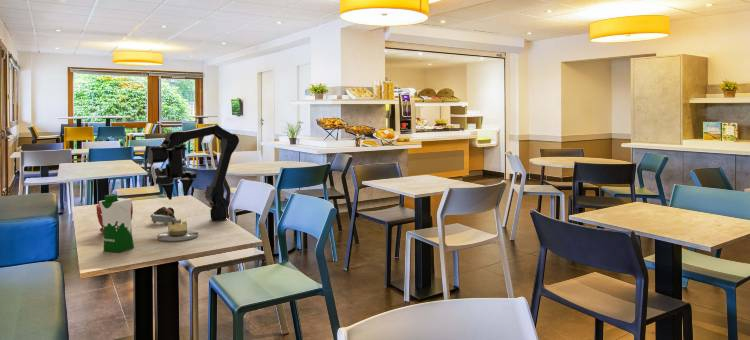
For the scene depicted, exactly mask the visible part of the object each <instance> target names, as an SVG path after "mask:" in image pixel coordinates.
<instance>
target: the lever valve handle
mask: <svg viewBox="0 0 750 340" xmlns="http://www.w3.org/2000/svg"><path fill="white" fill-rule="evenodd" d="M151 215H152V214H151ZM176 219H177V218H176V217H175V218H172V216H165V215H156V214H155V215H154V214H153V215H152V218H151V222H153V221H155V222H156V223H164V225H165V226H167V232H168V235H173V236H176V235H184V234H187V230H188V222H187V220H186V219H185V220H182V221H181V223H180V222H178V223H175V224H174V222H173V220H176Z"/></svg>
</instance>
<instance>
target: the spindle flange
mask: <svg viewBox="0 0 750 340" xmlns="http://www.w3.org/2000/svg"><path fill="white" fill-rule="evenodd" d="M173 222H174V224H175V223H178V222H180V223H181V222H182V219H180V218H176V220H173ZM198 237H199V232H198V231H196V230H191V229H187V234H184V235H176V236H173V235H168V231H165V232H161V233H158V235H157V237H156V238H157V241H159V242H164V243H178V242H186V241H191V240H194V239H197V238H198Z"/></svg>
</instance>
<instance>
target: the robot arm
mask: <svg viewBox="0 0 750 340" xmlns="http://www.w3.org/2000/svg"><path fill="white" fill-rule="evenodd" d="M212 135H213V136H214V137H215V138H216V139H218V141H220V145H219V146H220V147H219V148H220V155H219V158H218V162H217V166H216V168H215V172H214V177H213V181H212V183H210V185H209V184H207V185H206V188H205V189H206V190H205V192H204V195H205V196H204V198H205V200H206V201H207V202H208V203H209V205H210V206H211V208H210V210H209V211H210V219H211V221H212V222H214V221H215V222H216V221H218V220H219V221H227V220H228V215H227V207H228V206H229V204H230V201H229V200H228V199H226V198H225V187H224V184H225V180H226V176H227V173H228V169H229V166H230V165H229V164H230V162H231V158H232V155H233V153H234V152H235V151H236V150H237V147H238V146H239V142H240V138H239V136H238V135H237V134H235V133H232V132H230V131H228V130H226V129H225V128H222V127H221V126H220V125H218V124H211V125H208V126H204V127H198V128H194V129H189V130H174V131H173V130H171V131H170V130H169V131H167V132H166V133H165V136H164V139H163V141H162V142H161V144H160V146H149V148H148V149H149V150H148V154H147V159H148V162H149V164H159V163H166V161H168V162H167V163H166V164H165V167H163V168H162V167H157V168H156V167H155V169H154V173H155V176H156V178H155V184H157V185H158V186H160V187H162V188H163V190H164V192H165V194H166V197H167V199H168V200H172V198H173V194H174V183H173V182H174V181H177V180H179V181H180V183H182V184H181V185H182V192H183V196H184V197H186V196H187V195H188V193H189V191H190V188H191V186H192V184H193V183H194V181H195V179H197V173H196V172H195V171H188V170H186V171H184V167H185V166H186V163H185V162H184V161H183V160H184V159H183V151H186V150H188V148H187V147H186V146H184V144H185V143H187V142H189V141H191V140H194V139H199V138H204V137H208V136H212ZM226 218H227V219H226ZM225 219H226V220H225Z"/></svg>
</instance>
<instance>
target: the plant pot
mask: <svg viewBox="0 0 750 340" xmlns="http://www.w3.org/2000/svg"><path fill="white" fill-rule="evenodd" d="M133 209H134V208H133V204H132V205H131V221H132V219H133V212H134V211H133ZM96 216H97V220H98V223H99V225H100V228H99V230H100V232H101V233H102V234H103V219H102V211H101V207H100V204H99V203H98V204H97V205H96ZM131 227H133V226H132V225H131Z"/></svg>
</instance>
